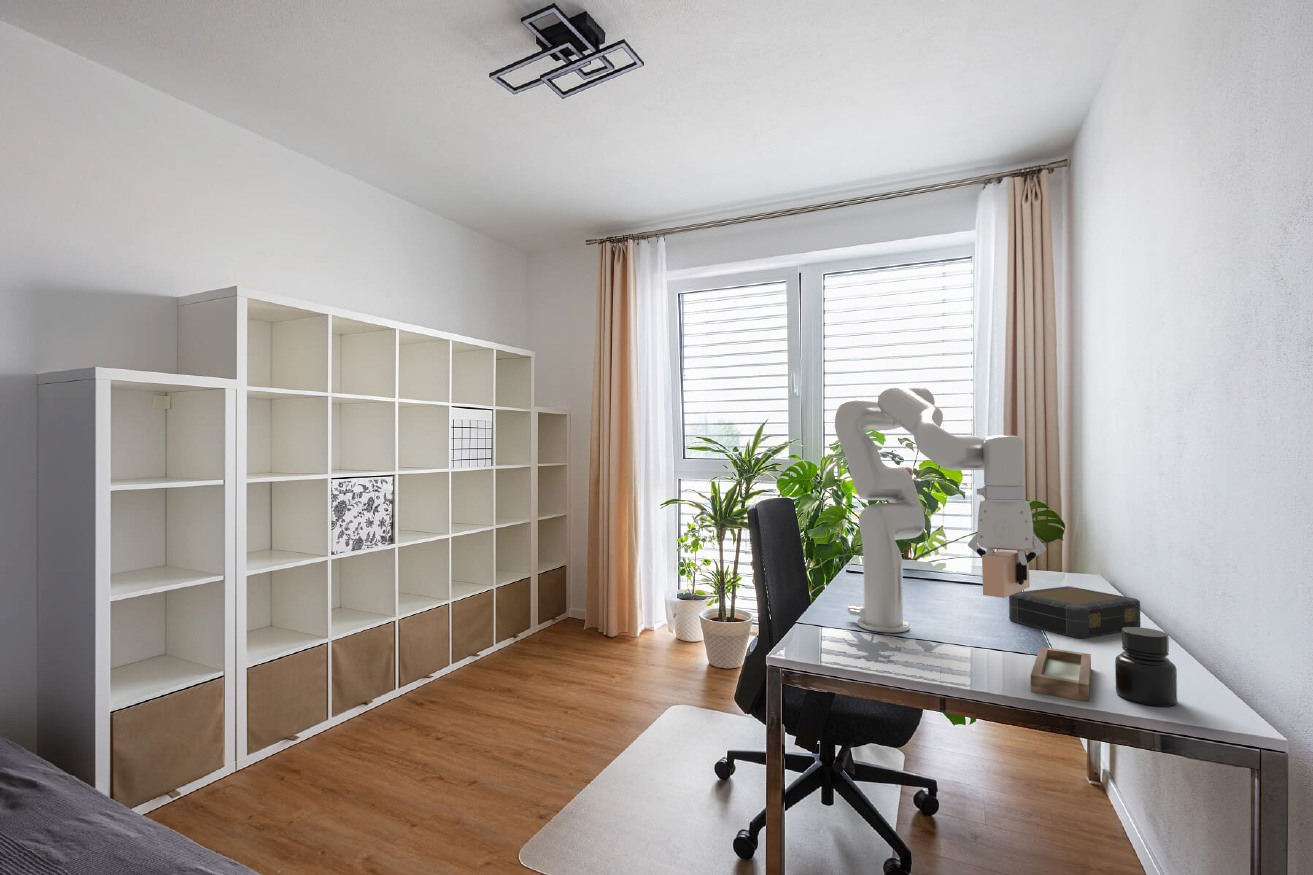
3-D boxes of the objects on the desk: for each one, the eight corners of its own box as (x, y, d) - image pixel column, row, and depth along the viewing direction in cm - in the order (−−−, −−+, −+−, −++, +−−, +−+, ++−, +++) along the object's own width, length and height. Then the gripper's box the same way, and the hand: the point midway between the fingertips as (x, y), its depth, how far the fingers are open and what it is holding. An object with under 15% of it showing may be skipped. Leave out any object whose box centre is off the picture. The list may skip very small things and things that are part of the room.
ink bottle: (1192, 706, 114) (1191, 637, 114) (1151, 710, 112) (1150, 640, 112) (1140, 687, 123) (1139, 623, 124) (1102, 690, 121) (1100, 626, 122)
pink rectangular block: (983, 595, 131) (982, 555, 131) (1009, 584, 142) (1008, 547, 142) (1004, 597, 128) (1003, 557, 128) (1029, 587, 139) (1028, 549, 140)
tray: (1030, 691, 121) (1030, 674, 121) (1040, 660, 139) (1040, 646, 139) (1088, 701, 116) (1088, 684, 116) (1090, 668, 134) (1090, 654, 134)
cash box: (1065, 612, 184) (1065, 584, 184) (1143, 629, 166) (1143, 599, 166) (1004, 621, 174) (1004, 592, 174) (1080, 640, 156) (1079, 608, 156)
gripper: (957, 494, 138) (959, 580, 137) (1050, 496, 128) (1052, 589, 127) (963, 493, 144) (965, 575, 143) (1053, 494, 134) (1055, 583, 133)
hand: (1006, 581), depth 135 cm, fingers closed on pink rectangular block, 4 cm apart
